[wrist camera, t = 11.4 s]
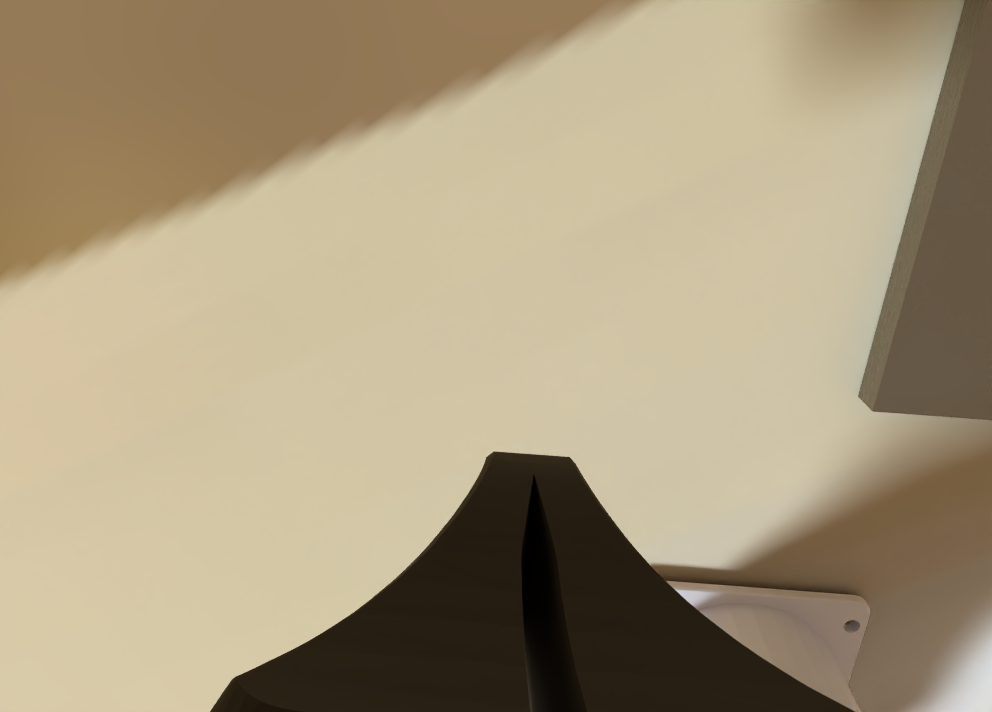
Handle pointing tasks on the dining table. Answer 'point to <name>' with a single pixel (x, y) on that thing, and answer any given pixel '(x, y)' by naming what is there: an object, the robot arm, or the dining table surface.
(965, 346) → the jig
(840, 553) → the dining table surface
